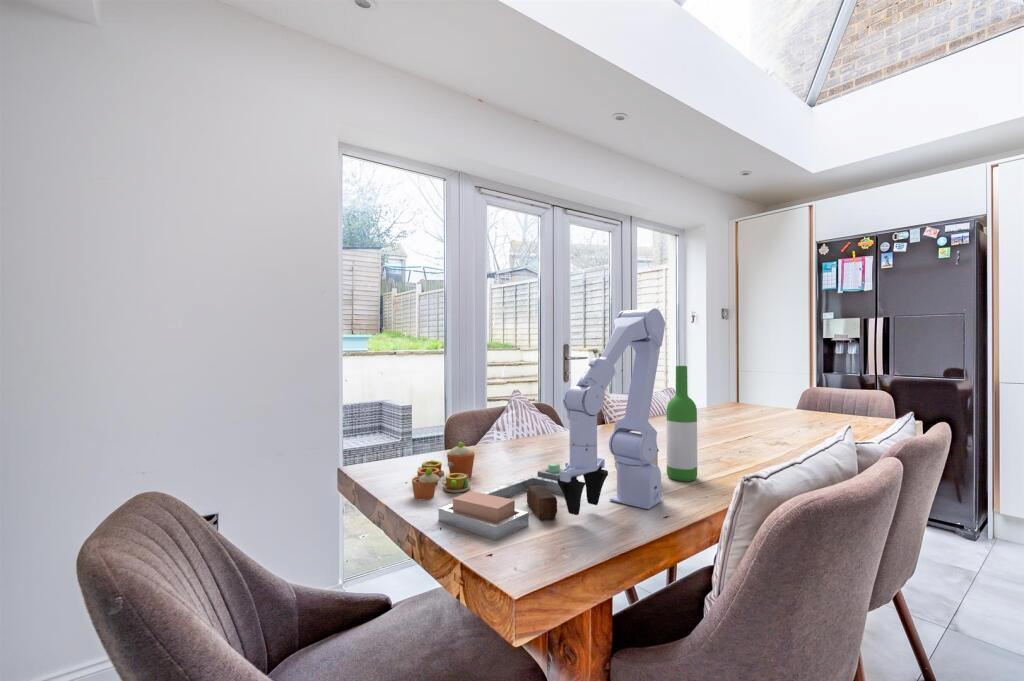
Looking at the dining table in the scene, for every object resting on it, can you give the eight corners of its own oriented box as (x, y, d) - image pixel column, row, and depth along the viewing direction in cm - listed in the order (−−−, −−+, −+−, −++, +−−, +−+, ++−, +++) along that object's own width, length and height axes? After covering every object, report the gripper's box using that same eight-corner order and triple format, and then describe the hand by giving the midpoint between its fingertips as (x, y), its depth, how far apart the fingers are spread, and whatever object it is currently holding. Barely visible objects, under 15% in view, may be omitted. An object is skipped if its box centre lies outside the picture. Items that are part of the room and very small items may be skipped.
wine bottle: (702, 478, 128) (702, 365, 128) (688, 484, 122) (688, 367, 123) (675, 472, 133) (674, 365, 134) (661, 478, 128) (660, 366, 128)
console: (570, 484, 123) (570, 470, 123) (557, 489, 118) (557, 475, 118) (551, 479, 127) (551, 466, 127) (537, 485, 122) (537, 471, 122)
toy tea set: (420, 472, 136) (420, 438, 136) (475, 471, 136) (475, 437, 136) (403, 503, 109) (403, 461, 109) (471, 502, 110) (471, 460, 110)
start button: (562, 480, 123) (562, 464, 123) (555, 482, 120) (555, 466, 120) (552, 478, 124) (552, 462, 125) (545, 480, 122) (545, 465, 122)
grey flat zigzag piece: (585, 498, 112) (585, 487, 112) (495, 540, 88) (495, 526, 88) (532, 485, 122) (532, 475, 122) (438, 520, 98) (438, 508, 98)
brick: (557, 520, 98) (557, 497, 98) (539, 521, 97) (539, 498, 98) (543, 503, 109) (543, 482, 109) (526, 504, 108) (526, 484, 108)
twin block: (471, 514, 102) (471, 491, 102) (514, 524, 96) (514, 499, 96) (452, 523, 97) (452, 498, 97) (497, 535, 91) (497, 508, 91)
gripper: (584, 435, 108) (585, 496, 108) (547, 446, 97) (547, 513, 97) (613, 439, 104) (613, 502, 104) (577, 451, 92) (577, 522, 92)
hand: (583, 508), depth 100 cm, fingers open, 7 cm apart
